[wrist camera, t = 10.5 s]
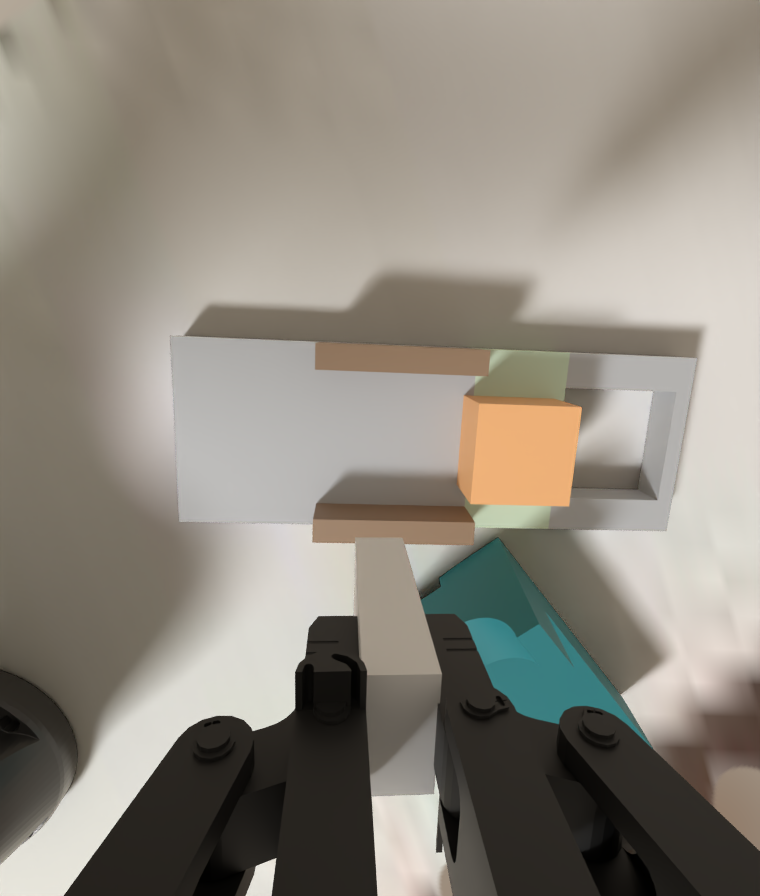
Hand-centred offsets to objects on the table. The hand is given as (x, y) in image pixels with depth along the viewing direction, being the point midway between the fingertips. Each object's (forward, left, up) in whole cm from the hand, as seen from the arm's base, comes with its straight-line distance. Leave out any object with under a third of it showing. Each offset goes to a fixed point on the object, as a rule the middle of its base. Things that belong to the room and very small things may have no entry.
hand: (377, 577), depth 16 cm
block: (+9, +1, -17) cm, 20 cm away
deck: (+4, +1, -20) cm, 20 cm away
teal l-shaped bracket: (+12, -17, -20) cm, 29 cm away
